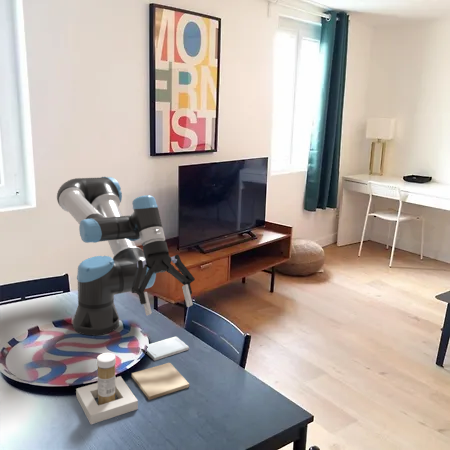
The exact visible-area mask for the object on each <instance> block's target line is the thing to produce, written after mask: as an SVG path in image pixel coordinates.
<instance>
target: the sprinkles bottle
mask: <svg viewBox="0 0 450 450" xmlns="http://www.w3.org/2000/svg"><path fill="white" fill-rule="evenodd" d="M116 362H117V359H116V354H114V353H112V352H103V353H101V354H99V355H97V357H96V366H97V383H98V398H97V404H98V406H99V405H102V404H105V403H108V402H112V401H115V400H117V399H116V394H115V378H116V364H117V363H116Z"/></svg>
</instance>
